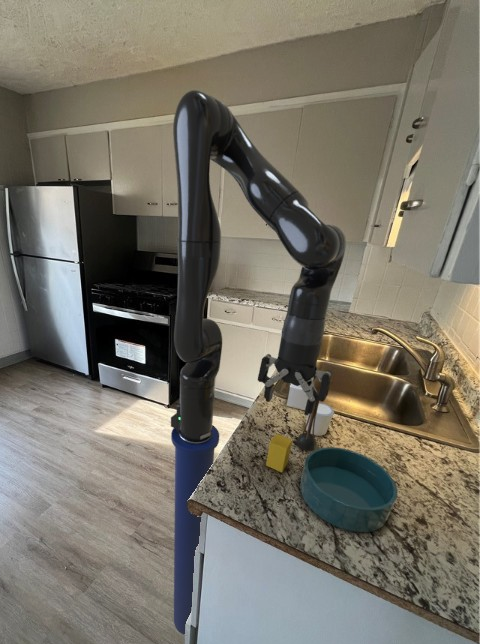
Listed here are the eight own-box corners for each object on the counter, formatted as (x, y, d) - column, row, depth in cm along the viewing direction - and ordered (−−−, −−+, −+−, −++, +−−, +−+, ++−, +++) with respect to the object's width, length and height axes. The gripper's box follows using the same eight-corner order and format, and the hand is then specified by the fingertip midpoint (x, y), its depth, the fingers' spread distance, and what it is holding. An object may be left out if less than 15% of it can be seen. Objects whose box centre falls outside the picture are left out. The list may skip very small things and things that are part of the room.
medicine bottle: (290, 396, 105) (296, 363, 100) (312, 401, 102) (319, 368, 97) (285, 406, 99) (292, 372, 94) (309, 412, 96) (317, 377, 91)
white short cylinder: (325, 424, 91) (331, 403, 88) (331, 438, 85) (337, 417, 82) (301, 421, 92) (305, 400, 89) (304, 435, 86) (309, 413, 83)
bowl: (289, 503, 65) (294, 481, 62) (312, 457, 78) (317, 437, 75) (383, 549, 56) (393, 526, 53) (391, 489, 69) (400, 468, 66)
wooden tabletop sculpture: (311, 437, 85) (327, 370, 76) (322, 447, 81) (340, 379, 72) (292, 440, 83) (306, 373, 75) (303, 452, 79) (319, 382, 71)
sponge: (265, 465, 74) (269, 442, 71) (272, 456, 77) (276, 433, 74) (282, 472, 72) (286, 448, 69) (287, 463, 75) (292, 439, 72)
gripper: (344, 340, 60) (325, 410, 67) (273, 324, 67) (263, 389, 75) (335, 351, 55) (315, 427, 62) (259, 333, 62) (249, 403, 69)
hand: (287, 406), depth 68 cm, fingers open, 8 cm apart
